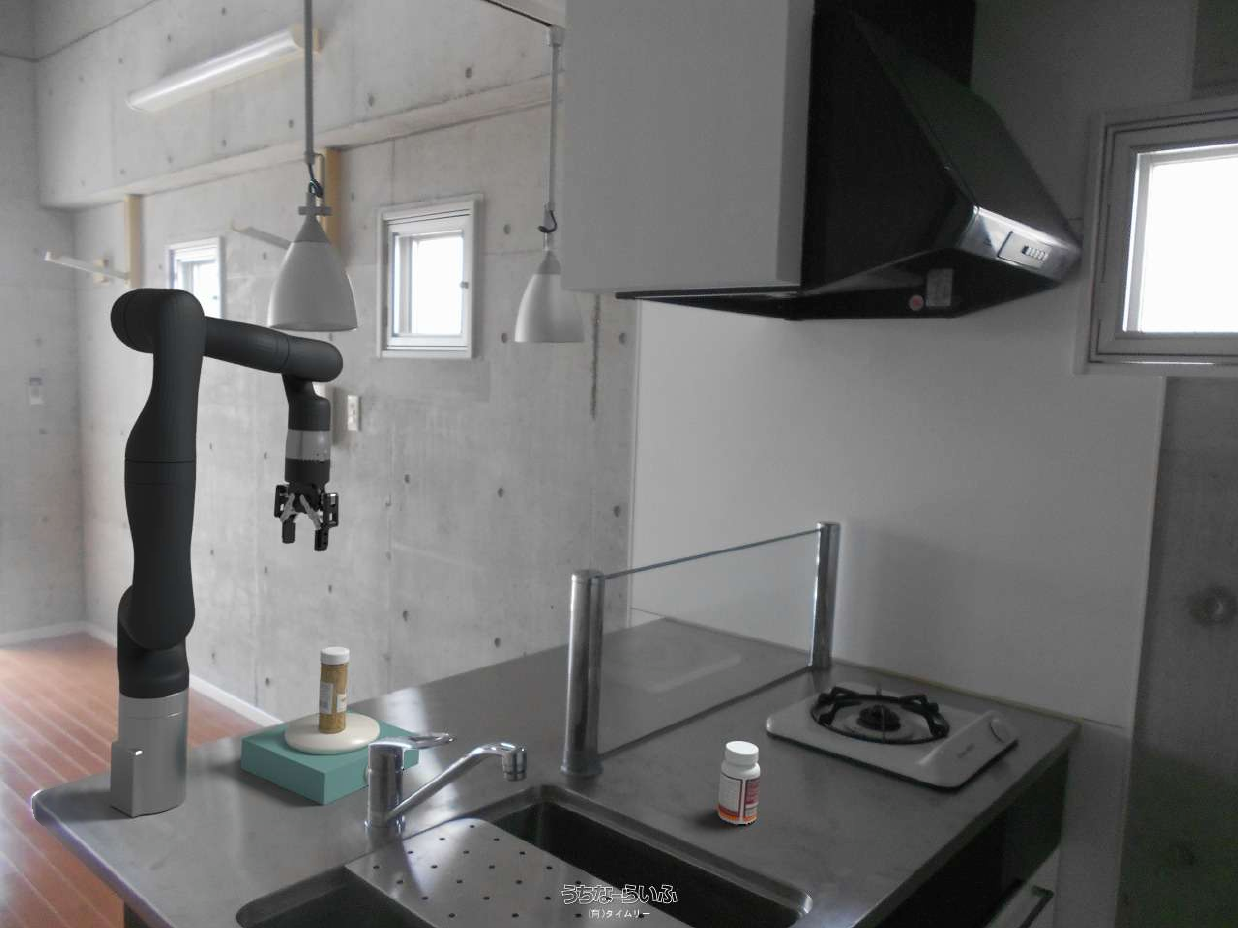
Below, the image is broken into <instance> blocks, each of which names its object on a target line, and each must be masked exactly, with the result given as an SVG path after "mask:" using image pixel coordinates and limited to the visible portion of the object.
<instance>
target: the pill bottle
mask: <svg viewBox="0 0 1238 928" xmlns="http://www.w3.org/2000/svg"><path fill="white" fill-rule="evenodd" d="M759 750H760V749H759V748H758V746H756V744H753V743H751V742H747V741H740V740H739V741H738V740H736V741H730V742H728V743H726V745H725V750H724V751H725V753H724V758H725V759H724V760H723V761H722V762H721V765H720V767H721V768H720V775H719V776H720V779H719V789H718V790H719V791H718V803H717V814H718V816H719V818H721V819H722V820H723V821H724V820H725V821H724V822H726V821H727V823H729V822H730V823H729V824H732V823H733V825H738V824H746V825H749V824H748V823H750V824H752V823H754V822H755V821H756V819H757V816H758V806H759V796H760V795H759V793H760V781H761V767H760V765H759V763H758V761H759ZM754 820H755V821H754ZM753 821H754V822H753ZM751 822H752V823H751Z"/></svg>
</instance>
